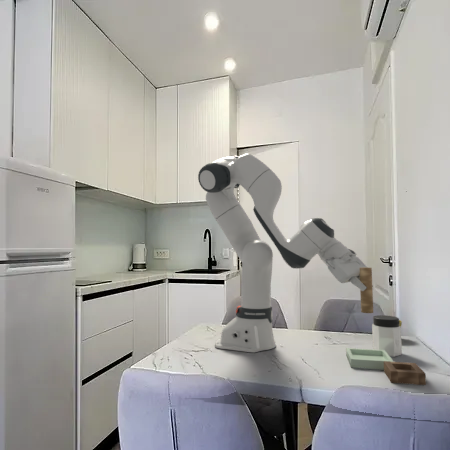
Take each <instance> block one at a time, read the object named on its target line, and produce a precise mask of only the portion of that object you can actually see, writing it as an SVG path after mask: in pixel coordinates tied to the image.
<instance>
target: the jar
mask: <svg viewBox="0 0 450 450" xmlns="http://www.w3.org/2000/svg"><path fill="white" fill-rule="evenodd" d="M372 320H373V321H372V322H373V323H372V324H371V329H372V330H371V332H372V334H371V336H372V349H374V350H385V351H386V352H387V354H388V355H389V356H390V357H391V358H392V357H393V358H395V357H398V356H401V355H402V354H403V350H402V349H403V348H402V325H401V326H399V320H400V318H399V317H397V316H393V315H383V314H380V315H373V317H372Z"/></svg>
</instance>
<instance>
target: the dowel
mask: <svg viewBox="0 0 450 450" xmlns="http://www.w3.org/2000/svg"><path fill="white" fill-rule="evenodd" d="M372 271H373V269H372V267H361V268H360V280H359V281H361V282H362V283H364V284H365V285H366V286H367V289H366V290H365V291H361V290H360V289H359V291H360V312H361V313H363V314H374V295H373V293H374V292H373V290H374V289H373V287H372V285H373V272H372Z"/></svg>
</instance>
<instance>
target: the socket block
mask: <svg viewBox="0 0 450 450" xmlns="http://www.w3.org/2000/svg"><path fill="white" fill-rule="evenodd" d="M383 373H384V374H385V375H386V378H388V380H389V381H390V383H391V384H406V385H417V386H427V381H426V380H427V379H426V378H427V377H426V375H427V374H426V372H425V371H424V370H423V369H422V368H421V367H420V366H419V365H418V364H417V363H415V362H406V361H405V362H401V361H394V362H389V361H384V370H383Z"/></svg>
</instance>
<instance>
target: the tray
mask: <svg viewBox="0 0 450 450" xmlns="http://www.w3.org/2000/svg"><path fill="white" fill-rule="evenodd" d="M345 352H346V353H345V354H346V358H347V361H348V363H349V366H350V368H353V369H369V370H382V371H384V361H389V362H395V361H394V360H393V358H392V357H391V356H389V355H388V354H387V352H386V351H385V350H374V349H373V348H369V349H368V348H356V347H355V348H352V347H345Z"/></svg>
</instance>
